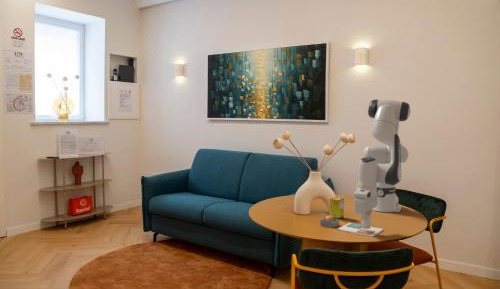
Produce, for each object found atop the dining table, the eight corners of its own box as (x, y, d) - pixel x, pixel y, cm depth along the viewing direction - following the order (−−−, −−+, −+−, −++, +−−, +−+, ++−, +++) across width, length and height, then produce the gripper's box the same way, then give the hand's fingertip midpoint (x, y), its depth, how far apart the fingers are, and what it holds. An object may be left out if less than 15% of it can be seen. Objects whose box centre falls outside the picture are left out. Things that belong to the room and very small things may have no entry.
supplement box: (334, 215, 226) (334, 196, 225) (343, 217, 222) (344, 198, 222) (329, 217, 222) (329, 198, 221) (338, 219, 218) (339, 199, 217)
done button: (327, 220, 210) (328, 215, 210) (334, 222, 207) (335, 216, 207) (324, 222, 207) (324, 216, 206) (331, 223, 204) (331, 218, 204)
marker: (363, 225, 197) (364, 206, 196) (371, 227, 194) (372, 207, 193) (360, 227, 193) (360, 207, 192) (368, 229, 191) (369, 209, 190)
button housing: (326, 222, 212) (326, 216, 212) (338, 224, 208) (338, 219, 207) (320, 225, 207) (320, 219, 206) (332, 227, 202) (332, 222, 202)
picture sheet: (349, 223, 210) (349, 222, 210) (383, 230, 199) (383, 228, 199) (337, 229, 199) (337, 228, 199) (372, 237, 188) (372, 235, 188)
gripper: (369, 187, 202) (368, 214, 203) (352, 193, 186) (351, 222, 187) (381, 188, 198) (380, 216, 199) (365, 195, 182) (364, 225, 183)
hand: (366, 219), depth 193 cm, fingers closed on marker, 4 cm apart
